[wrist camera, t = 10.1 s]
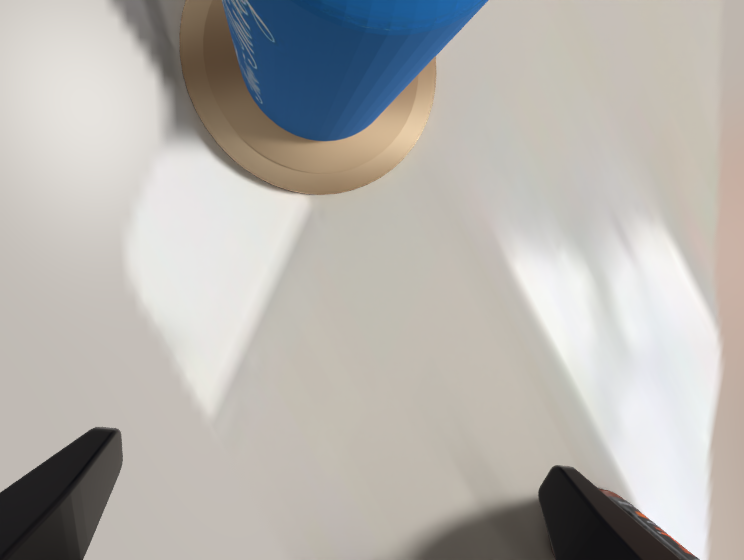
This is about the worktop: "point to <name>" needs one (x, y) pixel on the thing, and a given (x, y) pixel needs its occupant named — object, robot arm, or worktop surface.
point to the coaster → (274, 144)
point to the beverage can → (337, 56)
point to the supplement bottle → (650, 527)
